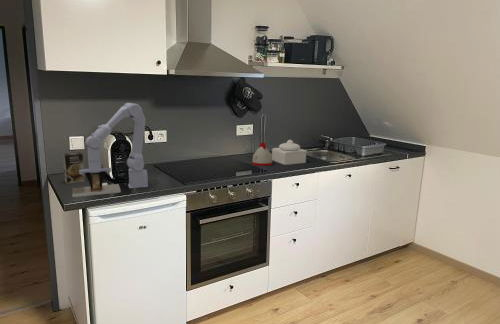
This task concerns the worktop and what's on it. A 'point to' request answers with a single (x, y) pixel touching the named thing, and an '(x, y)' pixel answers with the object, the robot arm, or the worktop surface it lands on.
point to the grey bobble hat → (262, 156)
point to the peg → (95, 182)
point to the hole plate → (88, 190)
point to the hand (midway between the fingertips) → (96, 186)
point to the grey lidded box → (289, 154)
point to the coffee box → (73, 167)
